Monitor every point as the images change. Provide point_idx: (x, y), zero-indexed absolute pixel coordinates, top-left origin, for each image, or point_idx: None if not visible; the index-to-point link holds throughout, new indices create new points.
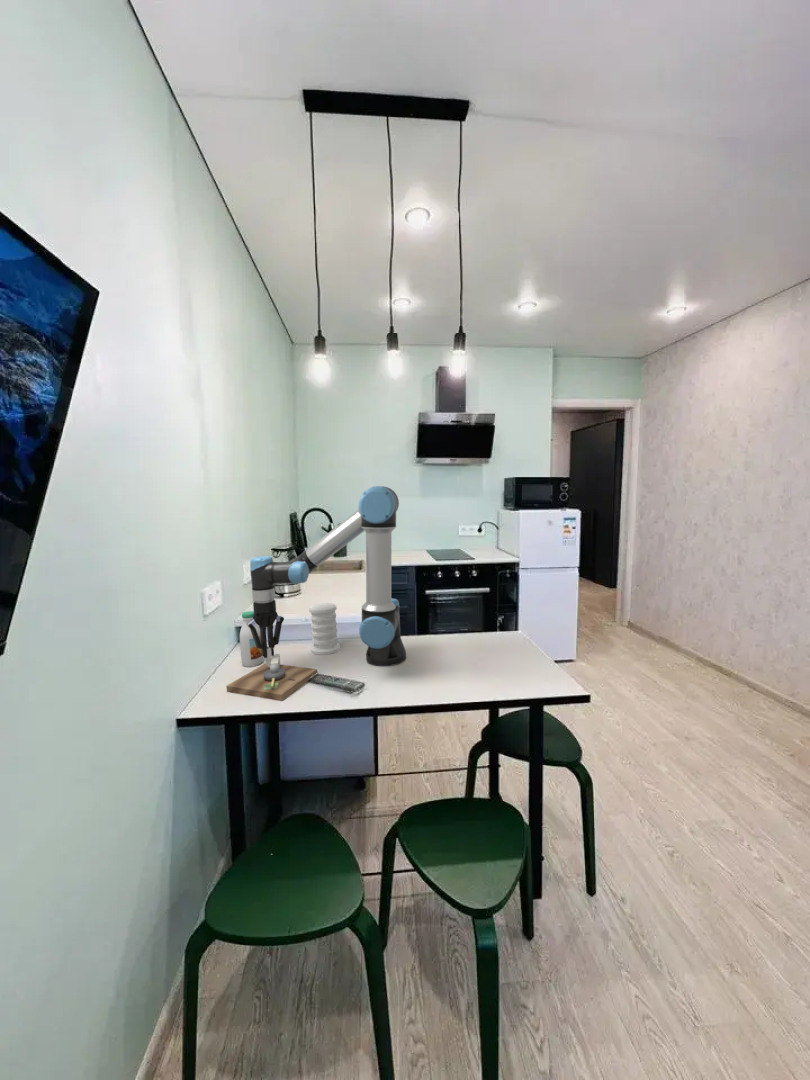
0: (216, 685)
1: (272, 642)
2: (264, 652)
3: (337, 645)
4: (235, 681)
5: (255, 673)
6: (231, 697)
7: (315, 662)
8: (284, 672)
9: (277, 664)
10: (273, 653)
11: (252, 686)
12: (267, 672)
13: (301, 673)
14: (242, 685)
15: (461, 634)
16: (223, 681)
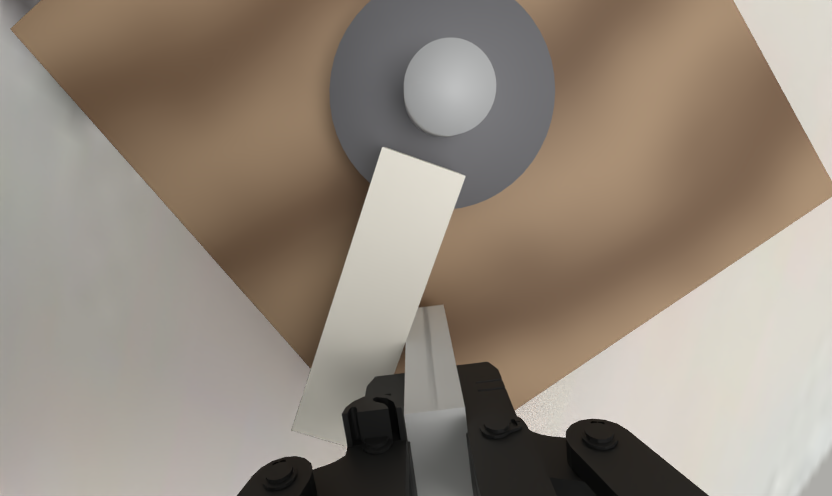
0: (810, 353)
1: (363, 488)
2: (498, 400)
3: None
4: (747, 238)
5: (557, 305)
6: (802, 51)
7: (24, 326)
8: (346, 36)
9: (387, 149)
10: (372, 390)
11: (668, 20)
12: (504, 132)
13: (184, 23)
14: (731, 107)
15: None
16: (748, 393)
